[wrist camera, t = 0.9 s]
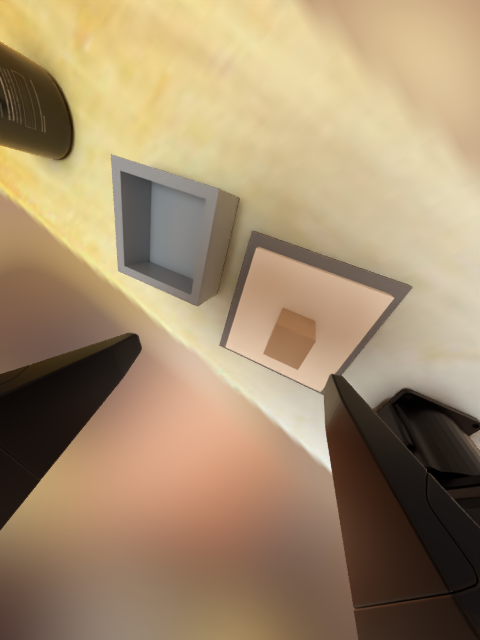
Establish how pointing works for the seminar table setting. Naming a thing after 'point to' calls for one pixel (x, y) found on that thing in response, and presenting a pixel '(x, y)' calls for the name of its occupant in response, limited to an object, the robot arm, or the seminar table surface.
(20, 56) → the supplement bottle
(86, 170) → the seminar table surface
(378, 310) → the lid
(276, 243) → the mat
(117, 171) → the dish
